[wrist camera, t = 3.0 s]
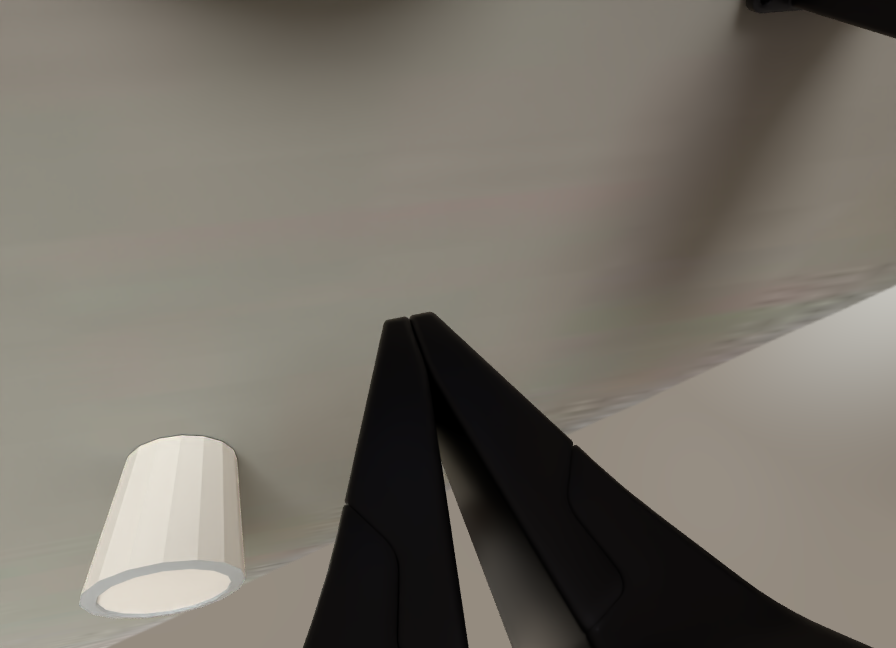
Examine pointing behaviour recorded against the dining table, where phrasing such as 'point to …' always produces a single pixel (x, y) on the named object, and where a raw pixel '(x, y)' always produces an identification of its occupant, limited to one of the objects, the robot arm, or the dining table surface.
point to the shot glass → (169, 532)
